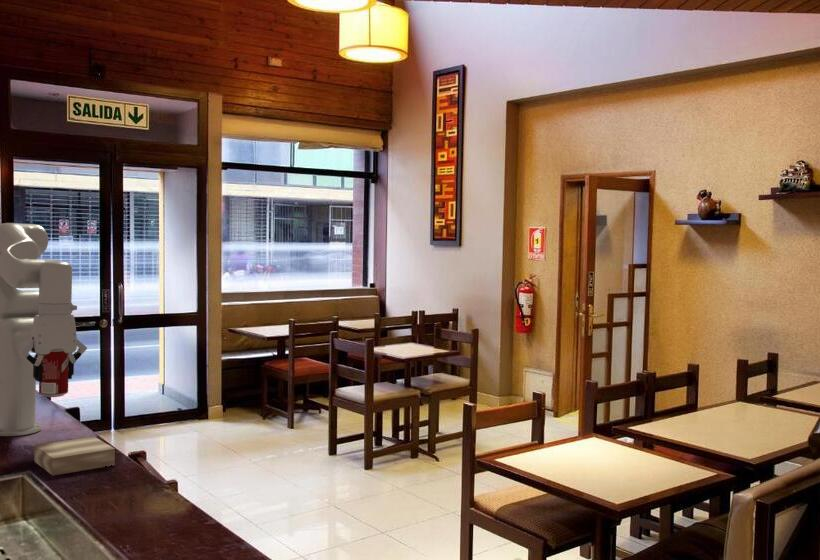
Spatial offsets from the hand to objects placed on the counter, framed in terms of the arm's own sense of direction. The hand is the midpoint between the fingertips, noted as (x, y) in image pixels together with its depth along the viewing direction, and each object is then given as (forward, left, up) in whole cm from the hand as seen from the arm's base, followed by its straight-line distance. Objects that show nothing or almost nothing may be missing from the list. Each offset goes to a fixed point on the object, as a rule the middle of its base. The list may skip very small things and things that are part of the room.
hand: (53, 378), depth 189 cm
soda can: (0, 0, -4) cm, 4 cm away
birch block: (+16, 0, -18) cm, 24 cm away
